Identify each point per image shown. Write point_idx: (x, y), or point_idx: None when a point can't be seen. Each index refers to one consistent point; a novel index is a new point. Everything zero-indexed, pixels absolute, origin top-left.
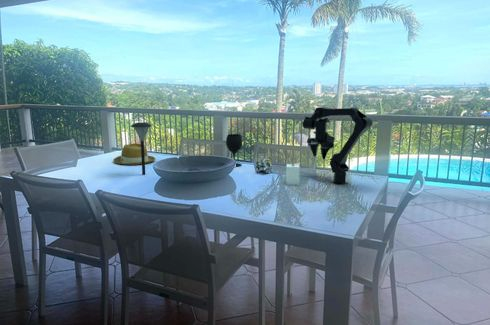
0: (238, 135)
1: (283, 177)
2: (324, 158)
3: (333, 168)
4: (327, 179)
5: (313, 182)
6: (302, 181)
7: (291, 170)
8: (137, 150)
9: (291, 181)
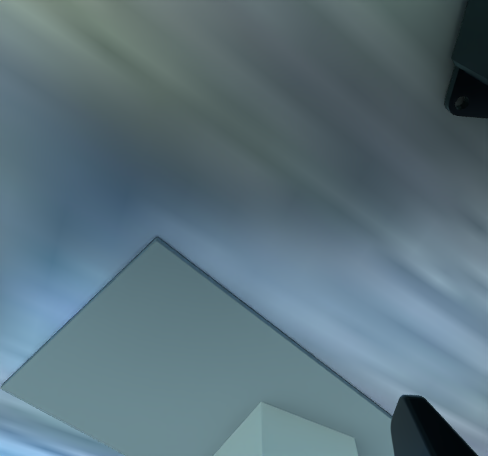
0: None
1: (77, 429)
2: (434, 424)
3: None
4: (305, 63)
5: (338, 296)
6: (273, 373)
7: None
8: None
9: None
